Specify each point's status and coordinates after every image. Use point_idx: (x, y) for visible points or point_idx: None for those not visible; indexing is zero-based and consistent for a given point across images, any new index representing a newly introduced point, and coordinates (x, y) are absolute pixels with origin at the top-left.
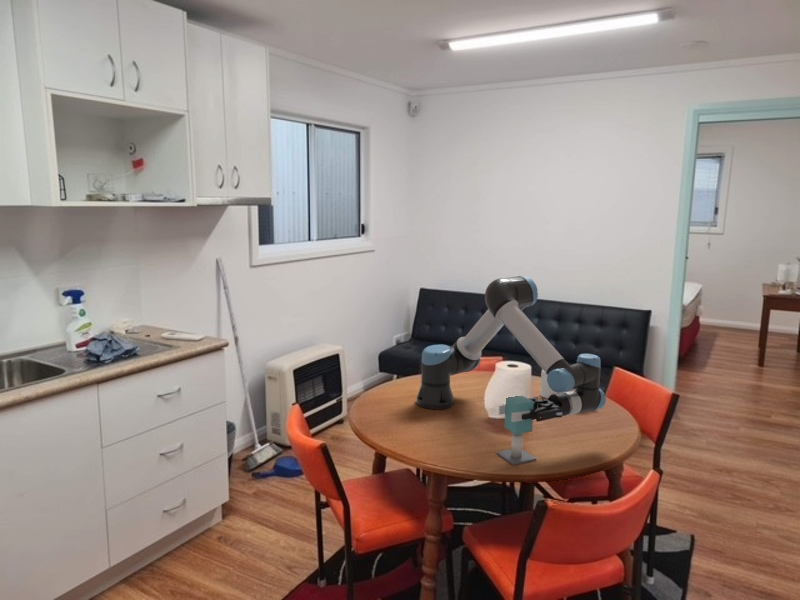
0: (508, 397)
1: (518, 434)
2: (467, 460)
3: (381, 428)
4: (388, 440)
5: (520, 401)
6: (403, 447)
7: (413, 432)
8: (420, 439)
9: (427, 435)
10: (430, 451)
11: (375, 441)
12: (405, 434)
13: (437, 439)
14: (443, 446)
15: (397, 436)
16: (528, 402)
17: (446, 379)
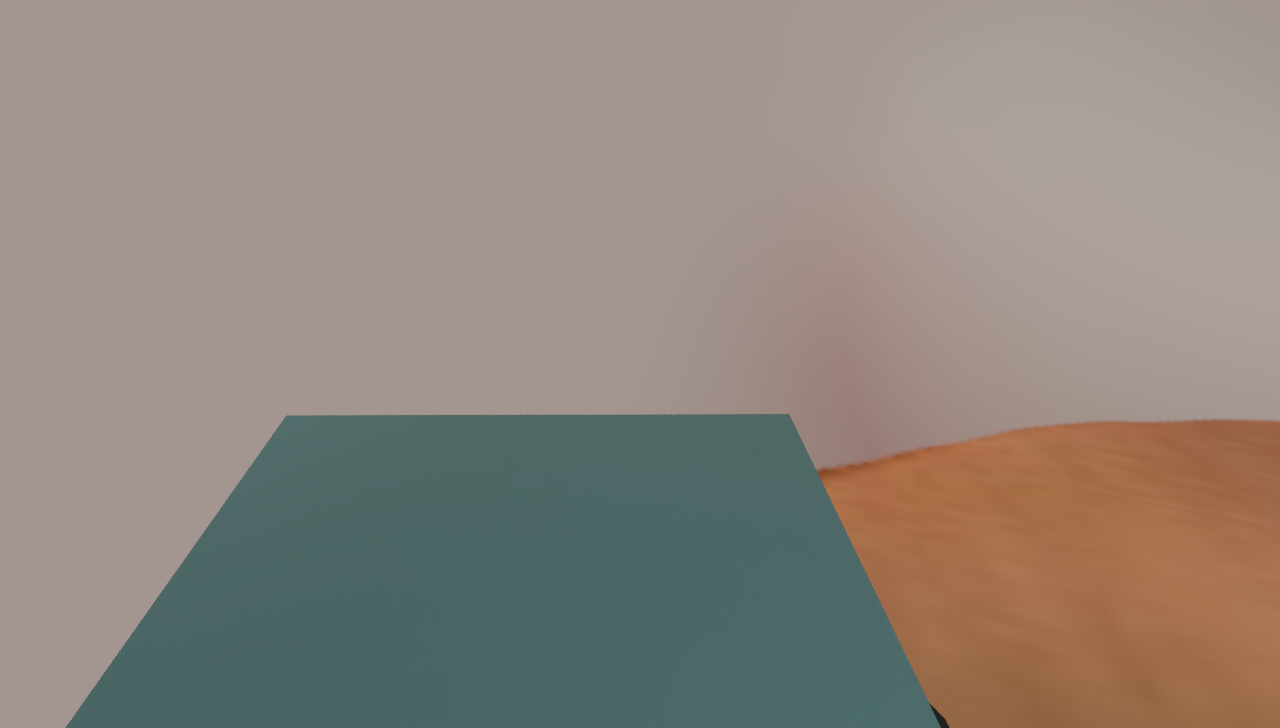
0: (805, 455)
1: None
2: None
3: (1265, 481)
4: (1065, 467)
5: (365, 521)
6: (961, 491)
7: (1255, 592)
8: (1115, 589)
9: (1218, 649)
10: (892, 576)
11: (1042, 429)
12: (1194, 547)
13: (1140, 682)
14: (986, 670)
15: (1143, 508)
16: (103, 689)
17: None
